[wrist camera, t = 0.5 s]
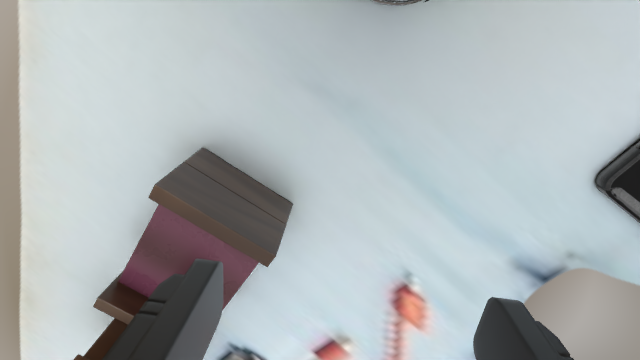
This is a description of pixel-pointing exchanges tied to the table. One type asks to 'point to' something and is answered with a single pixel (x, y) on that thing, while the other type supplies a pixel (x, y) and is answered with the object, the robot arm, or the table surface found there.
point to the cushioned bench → (214, 215)
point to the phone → (623, 181)
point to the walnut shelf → (104, 341)
